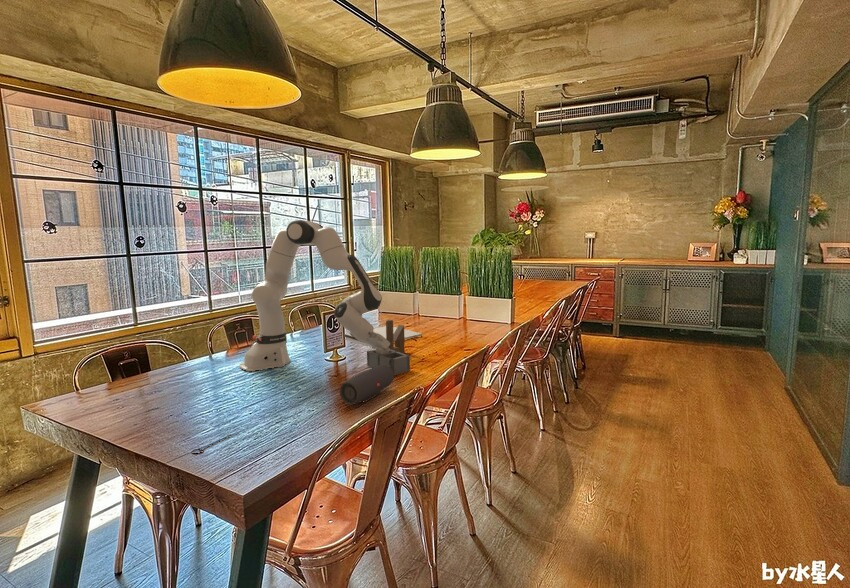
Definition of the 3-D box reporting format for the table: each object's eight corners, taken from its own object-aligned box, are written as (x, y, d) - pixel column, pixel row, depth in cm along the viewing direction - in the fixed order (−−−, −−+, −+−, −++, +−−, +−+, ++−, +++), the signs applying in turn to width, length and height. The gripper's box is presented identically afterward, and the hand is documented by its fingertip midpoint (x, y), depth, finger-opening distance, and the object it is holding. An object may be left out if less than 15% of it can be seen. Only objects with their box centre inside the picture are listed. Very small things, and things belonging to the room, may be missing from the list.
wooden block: (404, 352, 228) (404, 317, 225) (390, 357, 220) (389, 321, 217) (399, 351, 230) (398, 316, 228) (384, 356, 222) (384, 320, 219)
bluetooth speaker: (359, 410, 157) (358, 382, 155) (338, 405, 161) (337, 378, 160) (395, 389, 176) (395, 365, 175) (376, 386, 181) (375, 361, 179)
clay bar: (381, 365, 203) (380, 344, 202) (376, 363, 206) (375, 342, 205) (388, 363, 206) (388, 342, 204) (383, 362, 209) (383, 340, 207)
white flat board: (372, 344, 238) (340, 334, 260) (372, 349, 238) (340, 338, 261) (421, 333, 261) (388, 325, 284) (421, 337, 261) (388, 329, 284)
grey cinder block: (391, 376, 193) (391, 360, 192) (367, 366, 206) (366, 351, 205) (409, 370, 199) (409, 355, 198) (385, 361, 213) (384, 347, 212)
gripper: (381, 329, 190) (400, 347, 198) (355, 321, 206) (373, 339, 213) (372, 341, 188) (392, 359, 196) (346, 332, 203) (365, 350, 211)
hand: (382, 348), depth 205 cm, fingers open, 8 cm apart
